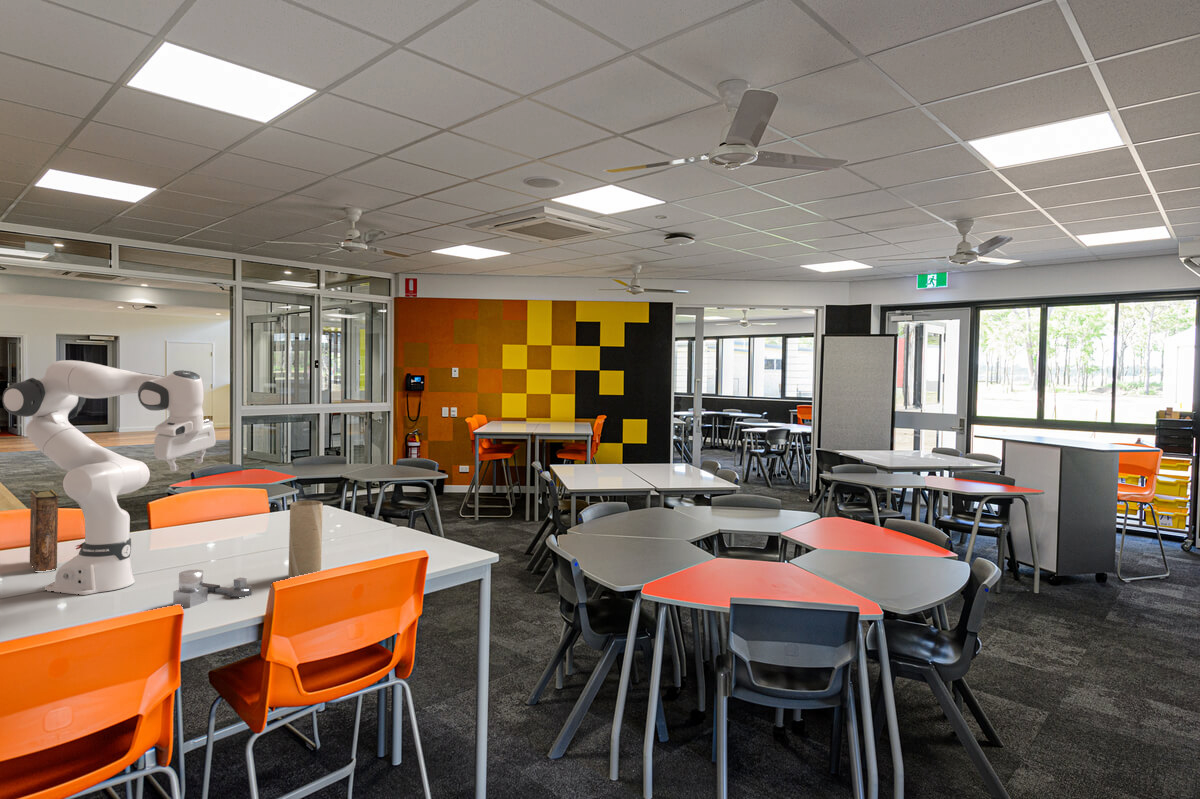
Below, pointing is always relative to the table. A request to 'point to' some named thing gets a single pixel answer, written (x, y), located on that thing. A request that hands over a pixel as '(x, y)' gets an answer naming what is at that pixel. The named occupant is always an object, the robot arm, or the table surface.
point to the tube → (305, 537)
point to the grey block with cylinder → (190, 589)
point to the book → (43, 530)
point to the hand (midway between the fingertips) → (186, 466)
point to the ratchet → (232, 588)
